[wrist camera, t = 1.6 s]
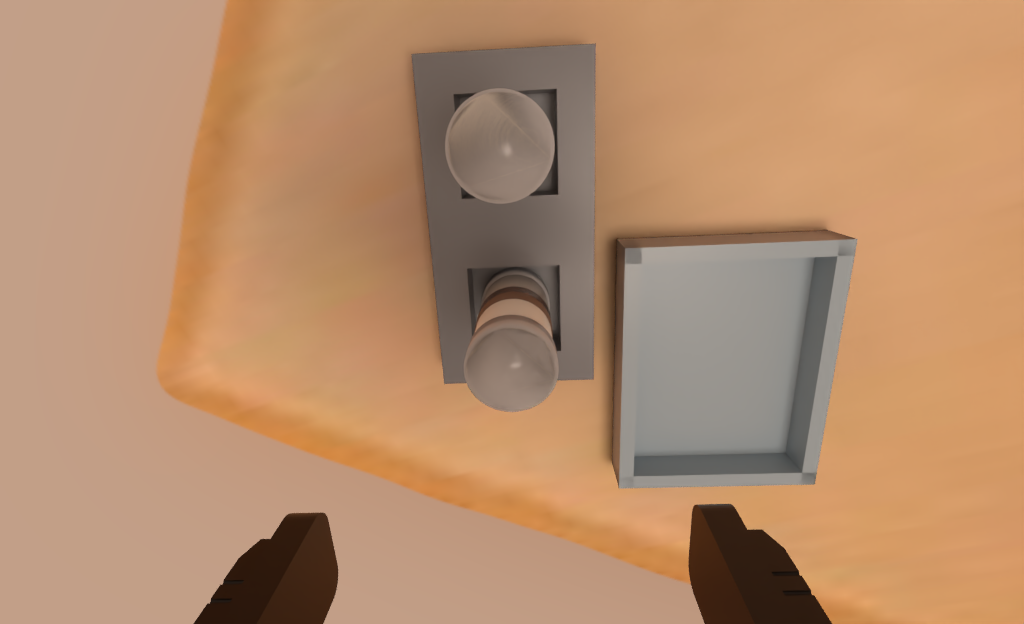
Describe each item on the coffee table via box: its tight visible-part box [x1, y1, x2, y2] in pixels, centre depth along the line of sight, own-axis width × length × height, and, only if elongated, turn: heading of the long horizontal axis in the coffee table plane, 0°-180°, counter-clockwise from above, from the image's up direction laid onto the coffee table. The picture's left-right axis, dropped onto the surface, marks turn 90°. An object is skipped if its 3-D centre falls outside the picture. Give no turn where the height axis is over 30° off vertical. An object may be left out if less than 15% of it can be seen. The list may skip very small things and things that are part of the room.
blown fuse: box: [464, 267, 559, 412], centre depth 23 cm, size 4×4×9 cm
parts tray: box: [612, 230, 857, 488], centre depth 28 cm, size 14×11×2 cm
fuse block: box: [412, 44, 596, 384], centre depth 26 cm, size 16×8×2 cm, turn 3°
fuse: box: [445, 88, 555, 204], centre depth 21 cm, size 4×4×9 cm
